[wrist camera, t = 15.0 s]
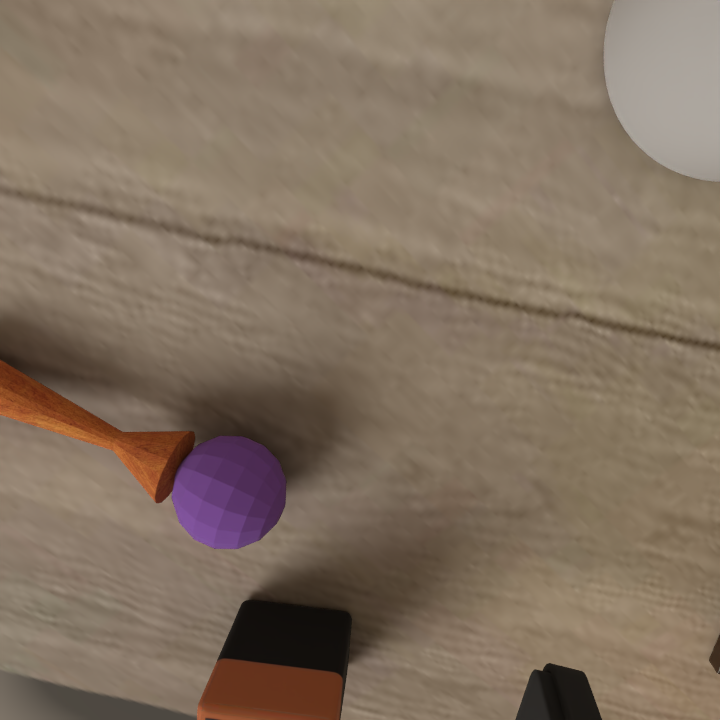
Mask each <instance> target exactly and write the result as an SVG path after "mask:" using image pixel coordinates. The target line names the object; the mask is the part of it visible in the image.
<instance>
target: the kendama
mask: <svg viewBox="0 0 720 720" xmlns="http://www.w3.org/2000/svg"><path fill="white" fill-rule="evenodd" d="M0 415H3V416H6V417H9V418H12V419H15V420H19V421H22V422H25V423H28V424H31V425H34V426H38V427H41V428H44V429H47V430H50V431H53V432H57V433H60V434H63V435H66V436H69V437H72V438H75V439H79V440H82V441H85V442H88V443H91V444H94V445H98V446H101V447H104V448H107V449H110V450H113V451H114V452H115V453H116V455H117V456H118V457H119V458H120V459H121V461H122V462H123V463H124V464H125V466H126V467H127V468H128V469H129V470H130V472H131V473H132V474H133V475H134V477H135V478H136V479H137V480H138V481H139V483H140V484H141V485H142V486H143V488H144V489H145V490H146V491H147V492H148V494H149V495H150V496H151V497H152V498H153V500H154V501H155V502H156V503H161V502H162V501H163V500H165V499H166V498H167V497H168V496H169V494H170V493H171V491H172V490H173V492H172V500H173V504H174V507H175V510H176V513H177V516H178V519H179V523H180V524H181V525H182V526H183V527H184V528H185V529H186V531H187V532H188V533H189V534H190V535H191V536H192V537H193V539H195V540H197V541H199V542H201V543H203V544H206V545H208V546H210V547H212V548H214V549H239V548H241V547H244V546H246V545H249V544H251V543H253V542H256V541H258V540H260V539H261V538H262V537H263V536H264V535H265V534H266V533H267V532H269V531H270V530H271V529H272V528H273V527H274V526H275V525H276V524H277V522H278V520H279V518H280V516H281V514H282V512H283V509H284V507H285V500H286V479H285V476H284V474H283V471H282V468H281V465H280V463H279V461H278V460H277V459H276V457H275V456H274V455H273V454H272V453H271V452H270V451H269V450H268V449H267V448H266V447H265V446H264V445H262V444H259V443H257V442H255V441H253V440H250V439H248V438H246V437H242V436H218V437H216V438H213V439H211V440H208V441H206V442H203V443H201V444H199V445H198V446H197V447H195V448H194V449H193V447H194V442H195V434H194V432H192V431H173V432H122V431H120V430H118V429H117V428H115V427H113V426H112V425H110V424H108V423H106V422H105V421H103V420H101V419H100V418H98V417H96V416H95V415H93V414H91V413H90V412H88V411H86V410H84V409H83V408H81V407H79V406H78V405H76V404H74V403H73V402H71V401H69V400H68V399H66V398H64V397H62V396H61V395H59V394H57V393H56V392H54V391H52V390H51V389H49V388H47V387H46V386H44V385H42V384H40V383H39V382H37V381H35V380H34V379H32V378H30V377H29V376H27V375H25V374H24V373H22V372H20V371H18V370H17V369H15V368H13V367H12V366H10V365H8V364H7V363H5V362H3V361H2V360H0Z"/></svg>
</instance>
